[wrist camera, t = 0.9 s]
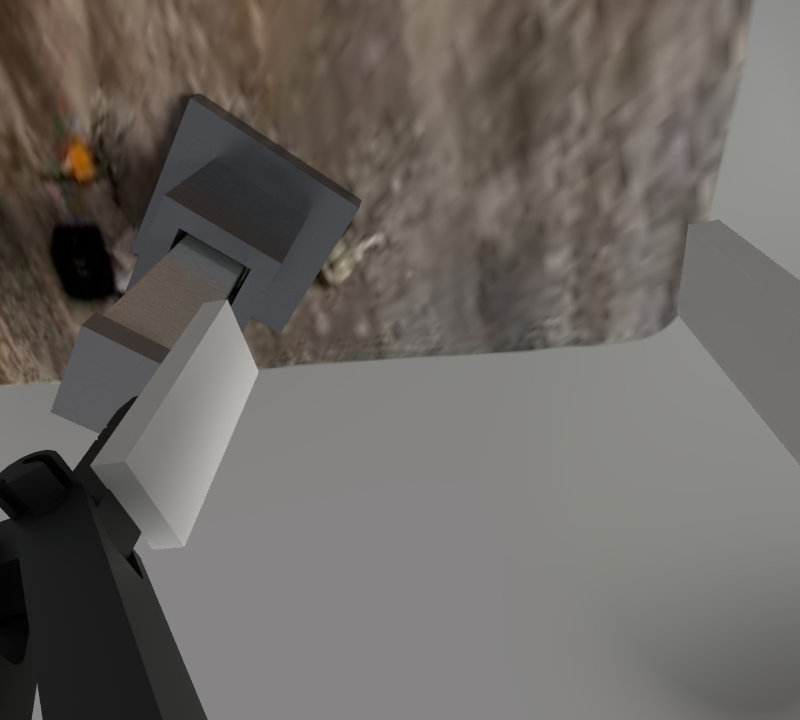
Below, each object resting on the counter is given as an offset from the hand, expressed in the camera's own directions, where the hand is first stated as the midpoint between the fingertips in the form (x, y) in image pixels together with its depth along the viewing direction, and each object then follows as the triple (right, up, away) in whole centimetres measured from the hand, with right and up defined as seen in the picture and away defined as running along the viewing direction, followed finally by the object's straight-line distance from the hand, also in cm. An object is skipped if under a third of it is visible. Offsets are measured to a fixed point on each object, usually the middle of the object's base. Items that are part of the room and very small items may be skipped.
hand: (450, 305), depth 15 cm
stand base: (-14, +10, +29) cm, 34 cm away
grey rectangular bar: (-14, +9, +27) cm, 32 cm away
